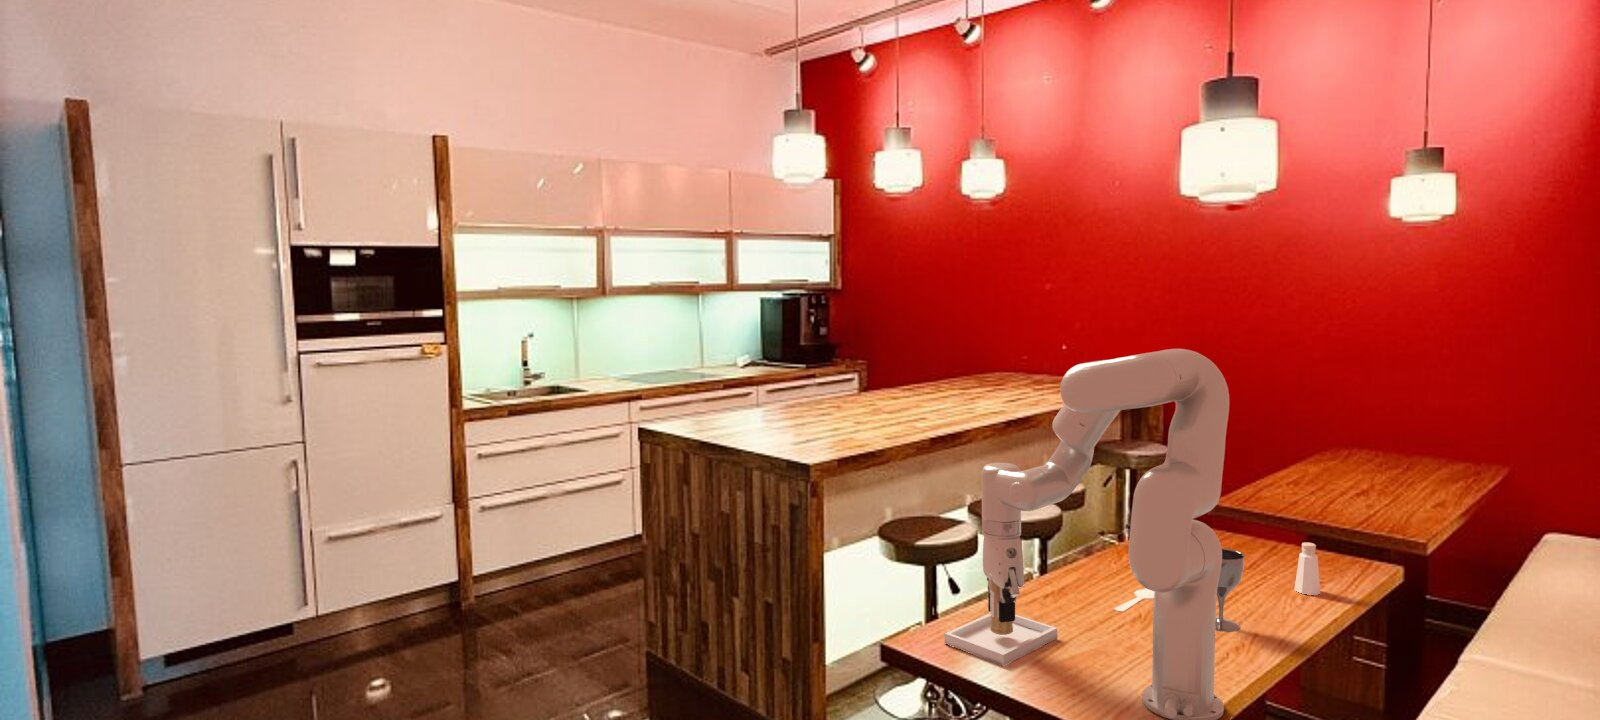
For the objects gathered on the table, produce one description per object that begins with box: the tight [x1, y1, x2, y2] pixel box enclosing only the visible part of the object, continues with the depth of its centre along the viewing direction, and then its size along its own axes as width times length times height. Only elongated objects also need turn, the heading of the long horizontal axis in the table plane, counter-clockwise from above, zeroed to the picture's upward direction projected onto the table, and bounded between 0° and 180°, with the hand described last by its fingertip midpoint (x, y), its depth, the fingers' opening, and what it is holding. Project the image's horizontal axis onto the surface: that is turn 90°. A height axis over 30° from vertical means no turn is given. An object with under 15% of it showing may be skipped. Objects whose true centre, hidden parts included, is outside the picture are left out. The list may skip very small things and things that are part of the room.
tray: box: [944, 613, 1058, 667], centre depth 177 cm, size 18×14×2 cm
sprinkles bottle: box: [989, 573, 1013, 635], centre depth 176 cm, size 5×5×13 cm
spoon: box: [1113, 587, 1155, 612], centre depth 197 cm, size 5×18×1 cm, turn 133°
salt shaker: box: [1294, 541, 1321, 596], centre depth 200 cm, size 5×5×11 cm
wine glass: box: [1215, 547, 1245, 633], centre depth 182 cm, size 8×8×15 cm
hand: (1001, 615), depth 176 cm, fingers closed on sprinkles bottle, 4 cm apart
